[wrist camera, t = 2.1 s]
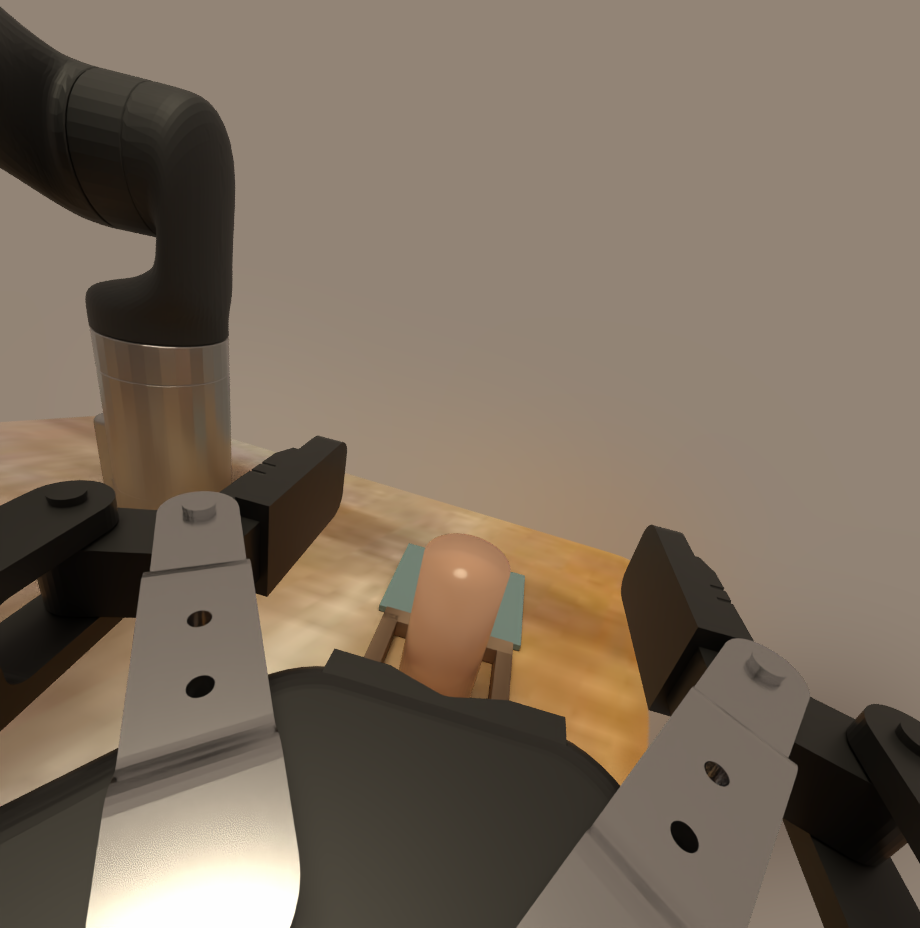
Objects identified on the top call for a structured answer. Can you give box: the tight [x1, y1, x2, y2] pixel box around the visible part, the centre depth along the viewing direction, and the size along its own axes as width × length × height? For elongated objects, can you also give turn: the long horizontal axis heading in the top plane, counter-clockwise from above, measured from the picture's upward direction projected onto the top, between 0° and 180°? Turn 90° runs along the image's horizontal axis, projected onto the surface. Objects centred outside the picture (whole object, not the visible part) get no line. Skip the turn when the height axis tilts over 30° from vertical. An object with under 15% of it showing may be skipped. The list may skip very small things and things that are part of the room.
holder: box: [364, 606, 513, 700], centre depth 31 cm, size 10×10×2 cm
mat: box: [379, 543, 525, 651], centre depth 41 cm, size 12×9×1 cm
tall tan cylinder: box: [399, 533, 511, 698], centre depth 29 cm, size 5×5×12 cm
